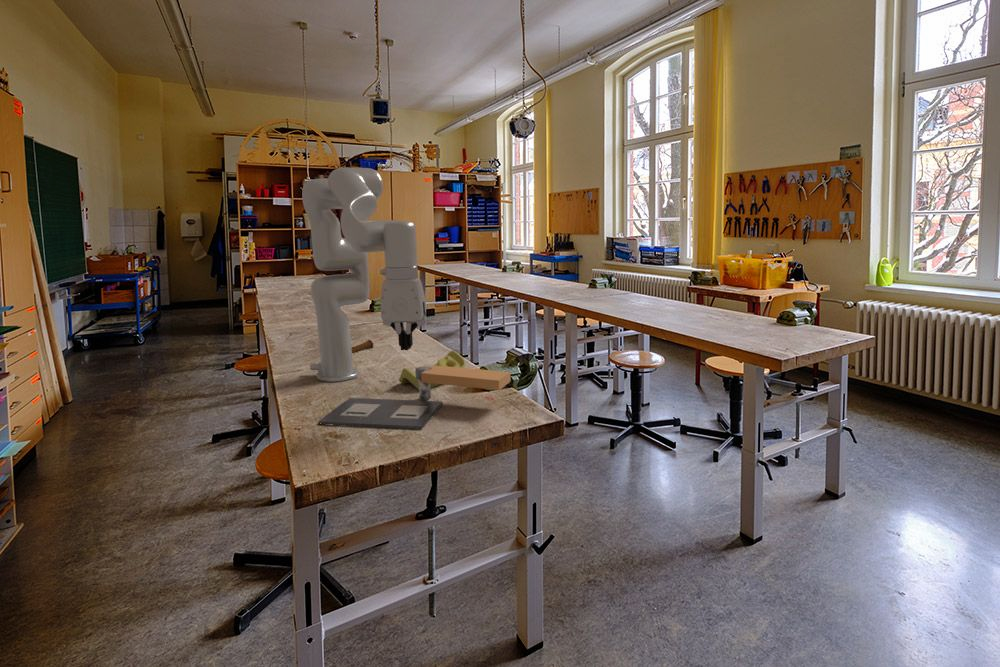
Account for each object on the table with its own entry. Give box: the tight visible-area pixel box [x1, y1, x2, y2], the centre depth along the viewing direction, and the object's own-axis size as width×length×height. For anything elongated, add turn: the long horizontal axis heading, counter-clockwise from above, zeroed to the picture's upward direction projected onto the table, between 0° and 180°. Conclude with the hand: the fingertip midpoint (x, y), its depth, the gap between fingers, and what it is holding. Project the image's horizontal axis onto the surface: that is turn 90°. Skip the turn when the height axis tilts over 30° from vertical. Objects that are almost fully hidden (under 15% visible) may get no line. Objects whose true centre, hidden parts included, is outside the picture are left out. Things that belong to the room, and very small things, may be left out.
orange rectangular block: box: [414, 364, 512, 391], centre depth 150 cm, size 8×26×2 cm, turn 68°
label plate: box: [317, 380, 443, 430], centre depth 146 cm, size 26×24×6 cm
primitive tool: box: [351, 339, 374, 354], centre depth 210 cm, size 19×6×4 cm, turn 147°
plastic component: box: [398, 350, 467, 390], centre depth 172 cm, size 20×7×10 cm
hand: (406, 348), depth 140 cm, fingers closed
